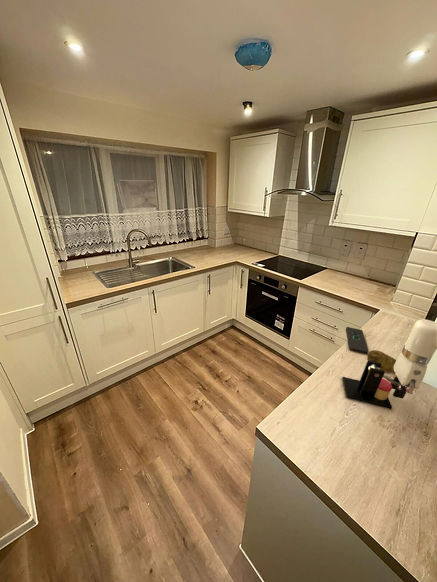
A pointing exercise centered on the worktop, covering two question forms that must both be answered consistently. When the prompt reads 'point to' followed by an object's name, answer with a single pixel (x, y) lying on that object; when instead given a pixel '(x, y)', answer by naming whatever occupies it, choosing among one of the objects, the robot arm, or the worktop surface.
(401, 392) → the robot arm
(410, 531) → the worktop surface
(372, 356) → the potato
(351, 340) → the smart home device
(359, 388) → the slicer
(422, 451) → the worktop surface
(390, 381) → the black ball knob
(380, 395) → the cake
